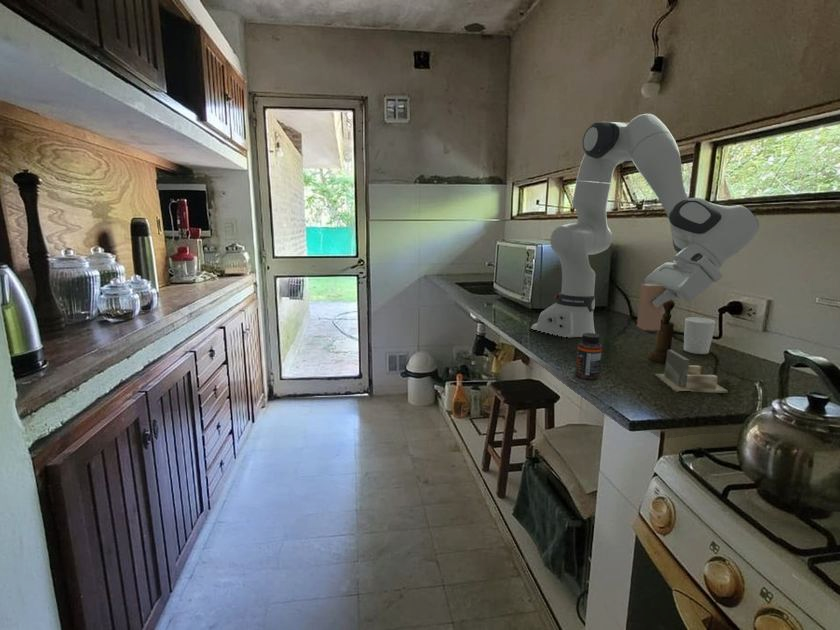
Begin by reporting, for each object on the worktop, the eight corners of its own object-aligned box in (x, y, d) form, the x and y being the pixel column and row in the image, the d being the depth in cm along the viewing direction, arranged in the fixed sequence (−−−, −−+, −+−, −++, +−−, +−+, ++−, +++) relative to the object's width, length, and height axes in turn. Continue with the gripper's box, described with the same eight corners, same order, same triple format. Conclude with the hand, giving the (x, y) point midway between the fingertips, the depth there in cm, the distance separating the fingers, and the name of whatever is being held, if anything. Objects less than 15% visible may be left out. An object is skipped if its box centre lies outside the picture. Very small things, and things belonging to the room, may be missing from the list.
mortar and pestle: (644, 357, 131) (651, 298, 127) (659, 355, 133) (666, 296, 130) (664, 364, 125) (671, 302, 121) (679, 361, 127) (687, 300, 124)
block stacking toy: (702, 376, 115) (706, 349, 113) (727, 392, 104) (732, 362, 102) (654, 375, 116) (657, 348, 114) (675, 391, 105) (679, 361, 103)
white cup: (715, 355, 133) (720, 323, 131) (686, 354, 134) (691, 322, 132) (704, 348, 140) (708, 318, 138) (677, 347, 142) (681, 316, 140)
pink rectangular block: (653, 326, 112) (657, 283, 110) (660, 330, 108) (664, 286, 106) (636, 326, 112) (640, 283, 110) (643, 329, 109) (647, 285, 106)
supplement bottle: (571, 372, 118) (574, 331, 115) (592, 372, 118) (596, 331, 116) (581, 380, 112) (584, 337, 109) (603, 379, 112) (607, 337, 110)
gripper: (665, 252, 116) (624, 288, 119) (709, 257, 96) (657, 301, 99) (681, 269, 117) (639, 304, 120) (727, 278, 97) (676, 320, 100)
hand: (648, 303), depth 109 cm, fingers closed on pink rectangular block, 4 cm apart
